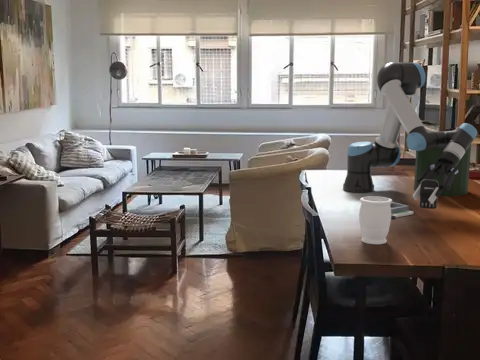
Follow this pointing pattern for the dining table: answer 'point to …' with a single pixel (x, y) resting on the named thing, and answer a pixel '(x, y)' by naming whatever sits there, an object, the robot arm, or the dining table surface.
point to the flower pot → (460, 180)
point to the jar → (375, 219)
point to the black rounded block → (427, 193)
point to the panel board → (399, 210)
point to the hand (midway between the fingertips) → (422, 199)
